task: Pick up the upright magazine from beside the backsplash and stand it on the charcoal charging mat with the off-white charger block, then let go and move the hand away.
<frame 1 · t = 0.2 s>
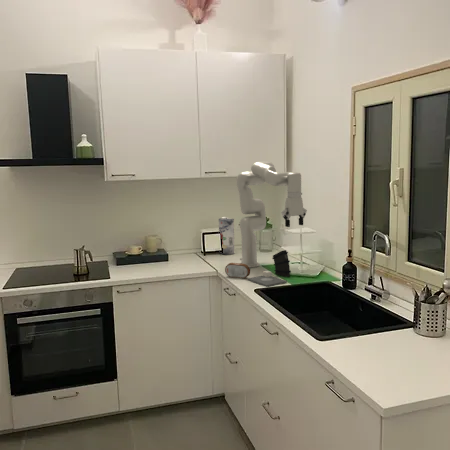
hand: (294, 225, 264), 31 cm above the worktop, tool pointing down, fingers open, 9 cm apart
tin: (237, 277, 275), on the worktop
juice carton: (226, 253, 344), on the worktop
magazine: (281, 275, 279), on the worktop
charging mat: (266, 281, 265), on the worktop
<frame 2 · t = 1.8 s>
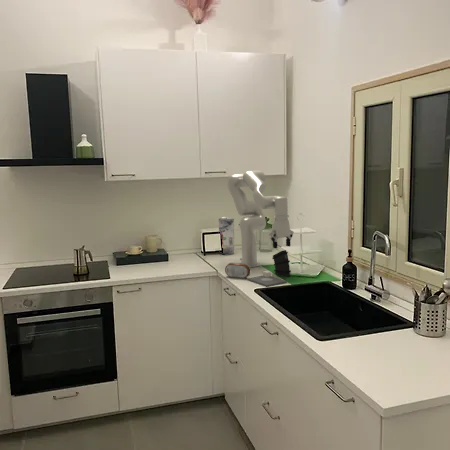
hand: (281, 247, 276), 17 cm above the worktop, tool pointing down, fingers open, 9 cm apart
nothing on the worktop moved.
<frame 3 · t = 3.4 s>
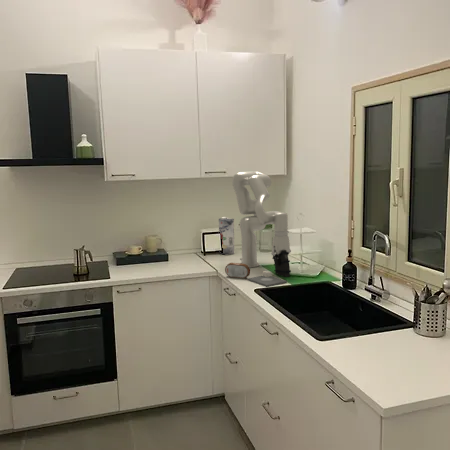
hand: (281, 264, 278), 6 cm above the worktop, tool pointing down, fingers closed on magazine, 4 cm apart
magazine: (281, 275, 279), on the worktop, touching gripper
everything else where it was.
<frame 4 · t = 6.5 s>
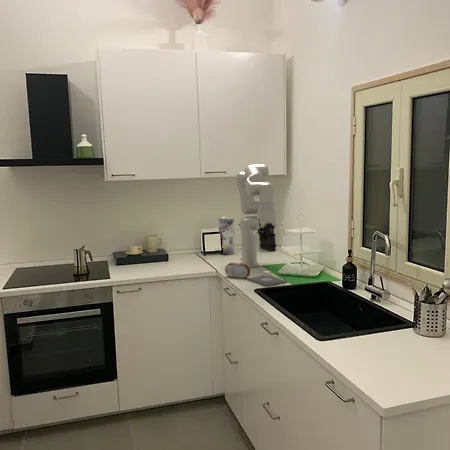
hand: (266, 238, 262), 24 cm above the worktop, tool pointing down, fingers closed on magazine, 3 cm apart
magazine: (266, 250, 263), point 18 cm above the worktop, touching gripper
everything else where it was.
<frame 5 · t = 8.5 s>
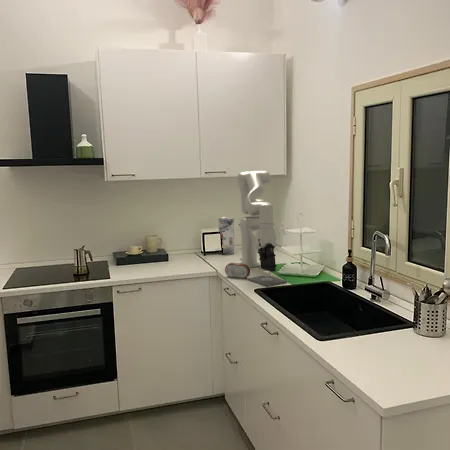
hand: (266, 258, 263), 13 cm above the worktop, tool pointing down, fingers closed on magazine, 3 cm apart
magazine: (266, 270, 264), point 7 cm above the worktop, touching gripper
everything else where it was.
when the fingers open (9 cm above the worktop, at t = 9.7 s): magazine drops 1 cm, resting on charging mat.
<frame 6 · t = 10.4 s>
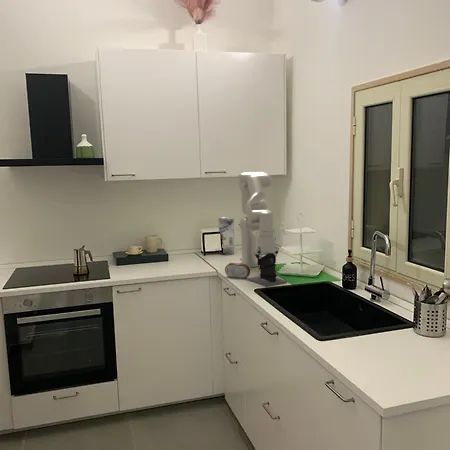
hand: (266, 264, 264), 10 cm above the worktop, tool pointing down, fingers open, 9 cm apart
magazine: (266, 279, 265), point 1 cm above the worktop, touching charging mat
everything else where it was.
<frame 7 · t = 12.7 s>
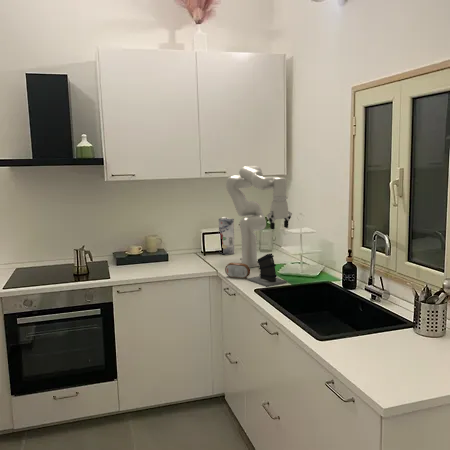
hand: (279, 228, 276), 28 cm above the worktop, tool pointing down, fingers open, 9 cm apart
nothing on the worktop moved.
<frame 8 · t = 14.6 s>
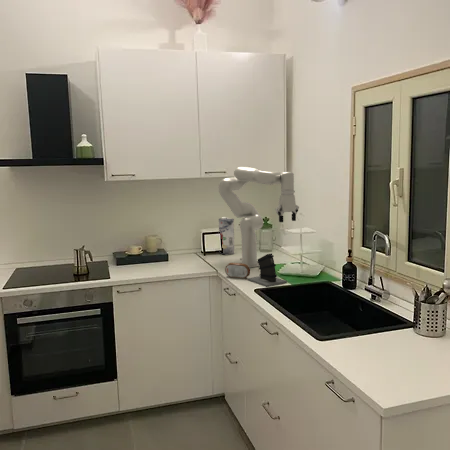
hand: (287, 221, 284), 30 cm above the worktop, tool pointing down, fingers open, 9 cm apart
nothing on the worktop moved.
at the end: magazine inside the target area on the charging mat (0.1 cm from its centre), point 0.9 cm above the charging mat's base; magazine tilted 1°; the gripper is holding nothing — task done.
